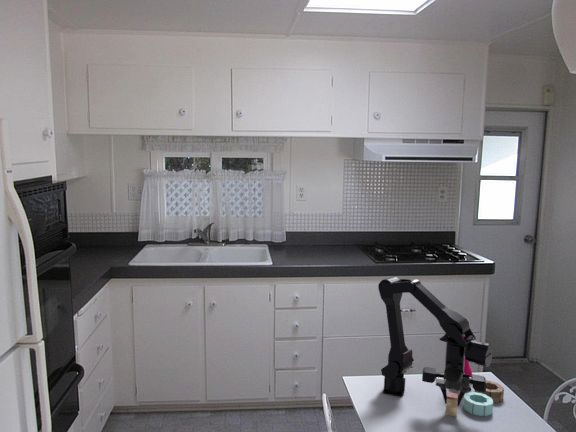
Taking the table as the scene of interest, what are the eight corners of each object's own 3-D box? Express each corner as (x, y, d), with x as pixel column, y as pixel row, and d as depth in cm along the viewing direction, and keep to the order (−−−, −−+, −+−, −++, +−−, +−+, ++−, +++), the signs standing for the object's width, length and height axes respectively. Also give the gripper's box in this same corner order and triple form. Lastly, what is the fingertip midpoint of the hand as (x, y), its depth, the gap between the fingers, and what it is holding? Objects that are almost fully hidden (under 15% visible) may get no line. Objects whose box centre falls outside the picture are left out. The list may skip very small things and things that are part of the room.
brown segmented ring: (482, 402, 157) (483, 392, 157) (470, 389, 166) (471, 380, 166) (507, 402, 158) (508, 392, 157) (494, 389, 166) (495, 380, 166)
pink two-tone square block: (445, 414, 149) (447, 396, 148) (446, 409, 152) (447, 392, 151) (456, 416, 148) (457, 398, 147) (456, 411, 151) (457, 393, 150)
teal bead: (463, 412, 150) (464, 402, 150) (463, 400, 158) (463, 390, 158) (493, 418, 147) (493, 407, 147) (491, 405, 156) (491, 395, 155)
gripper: (422, 362, 143) (419, 411, 145) (489, 372, 137) (485, 423, 139) (424, 349, 154) (421, 394, 155) (486, 358, 148) (483, 405, 149)
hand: (451, 404), depth 150 cm, fingers closed on pink two-tone square block, 3 cm apart
